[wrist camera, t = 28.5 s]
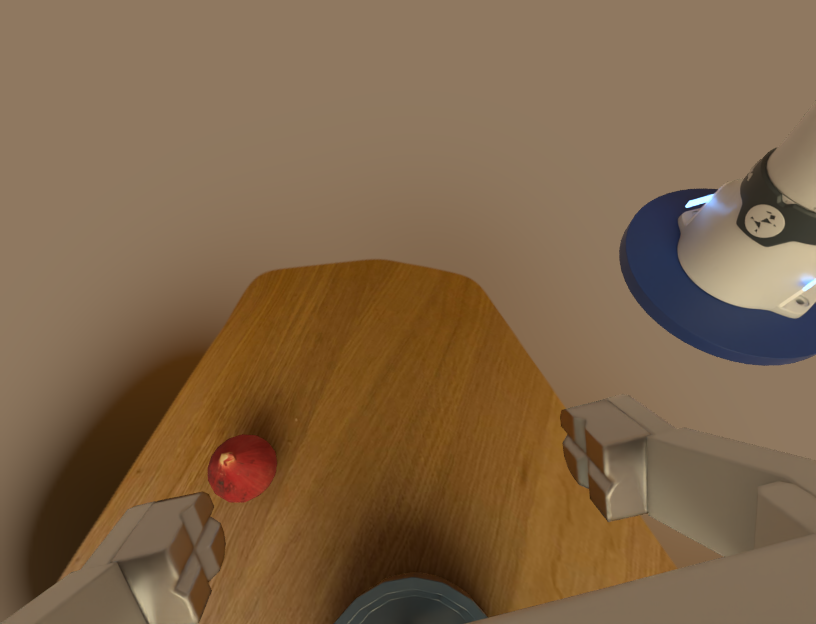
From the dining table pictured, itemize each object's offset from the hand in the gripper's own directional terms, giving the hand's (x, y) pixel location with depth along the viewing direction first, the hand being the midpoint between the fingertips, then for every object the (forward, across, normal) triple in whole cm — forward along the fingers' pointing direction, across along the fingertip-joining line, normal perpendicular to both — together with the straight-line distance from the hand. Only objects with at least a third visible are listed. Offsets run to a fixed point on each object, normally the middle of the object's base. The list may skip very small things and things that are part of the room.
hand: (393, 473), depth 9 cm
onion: (+28, +15, +18) cm, 37 cm away
